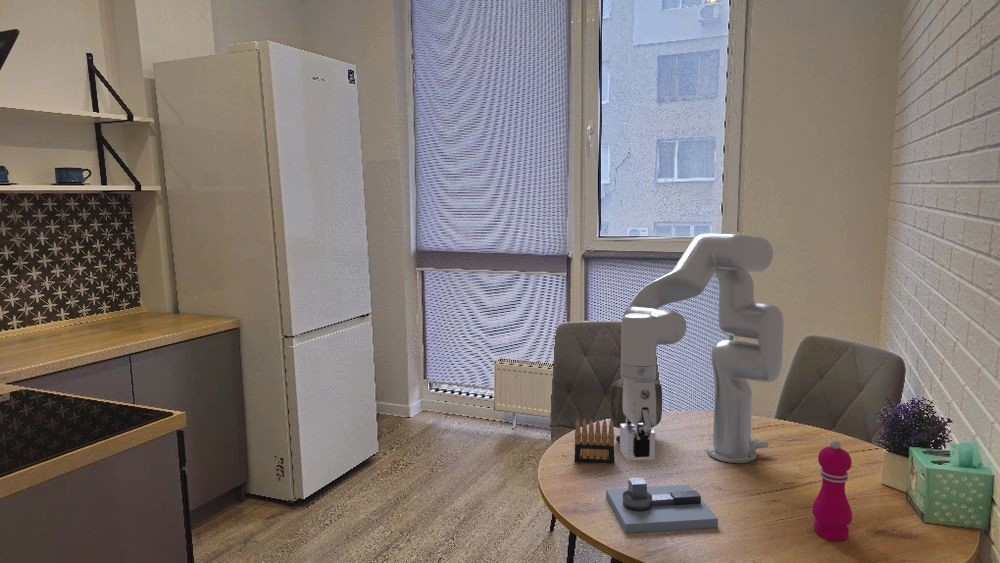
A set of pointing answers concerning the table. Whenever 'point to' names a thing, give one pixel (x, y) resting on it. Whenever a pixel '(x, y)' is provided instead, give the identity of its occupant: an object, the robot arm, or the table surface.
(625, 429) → the matte grey cube
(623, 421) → the tabletop clock
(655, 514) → the slate board
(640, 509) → the ratchet
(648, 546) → the table surface
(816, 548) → the table surface
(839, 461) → the pepper mill
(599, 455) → the ammunition clip
